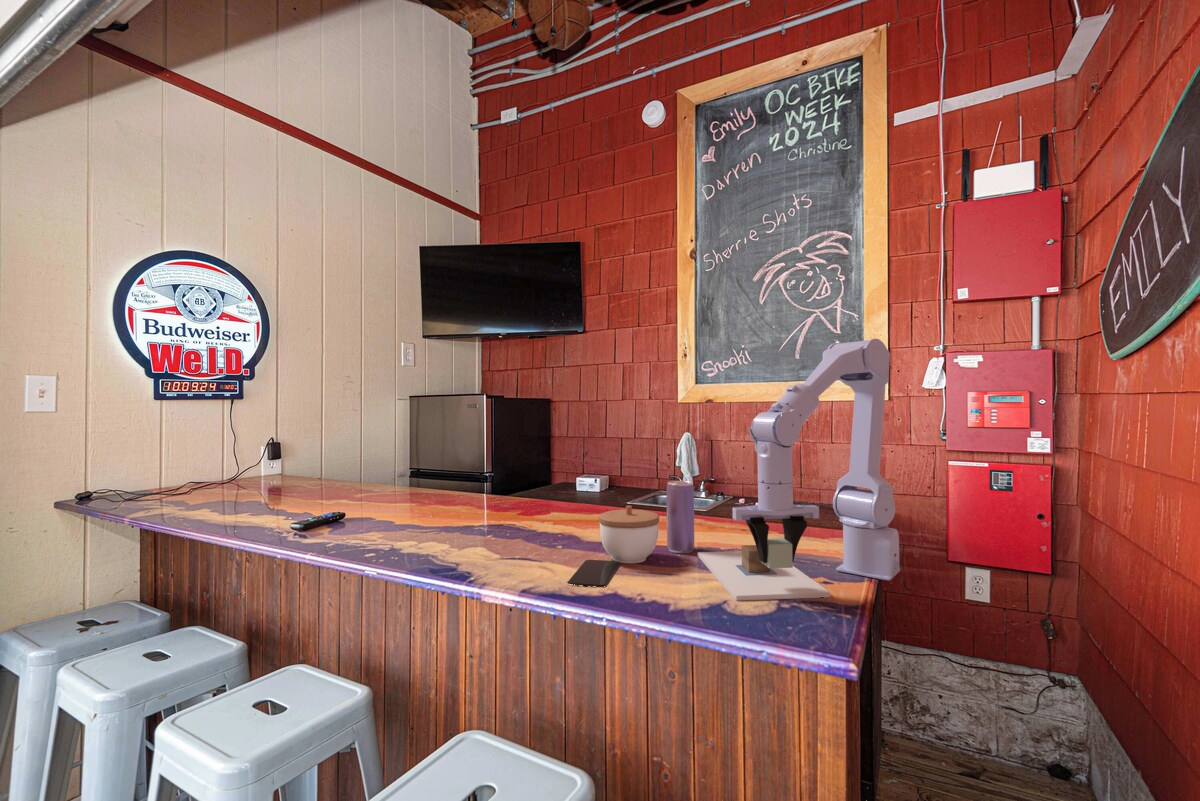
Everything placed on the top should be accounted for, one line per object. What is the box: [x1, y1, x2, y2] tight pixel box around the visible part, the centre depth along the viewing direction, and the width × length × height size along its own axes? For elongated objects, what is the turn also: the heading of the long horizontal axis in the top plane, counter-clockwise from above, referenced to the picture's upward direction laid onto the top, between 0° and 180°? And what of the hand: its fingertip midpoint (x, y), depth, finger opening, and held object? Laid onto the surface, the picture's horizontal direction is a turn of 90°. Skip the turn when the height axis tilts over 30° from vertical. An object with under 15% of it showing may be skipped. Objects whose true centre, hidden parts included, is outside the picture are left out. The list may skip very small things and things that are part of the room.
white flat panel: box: [697, 550, 831, 601], centre depth 104 cm, size 16×26×1 cm, turn 4°
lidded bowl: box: [598, 505, 660, 565], centre depth 115 cm, size 13×13×11 cm
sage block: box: [762, 537, 794, 569], centre depth 94 cm, size 4×4×4 cm
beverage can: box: [666, 480, 695, 555], centre depth 121 cm, size 6×6×15 cm
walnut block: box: [741, 544, 770, 573], centre depth 104 cm, size 4×4×4 cm
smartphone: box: [566, 559, 620, 588], centre depth 105 cm, size 7×1×15 cm
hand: (776, 560), depth 94 cm, fingers closed on sage block, 4 cm apart
